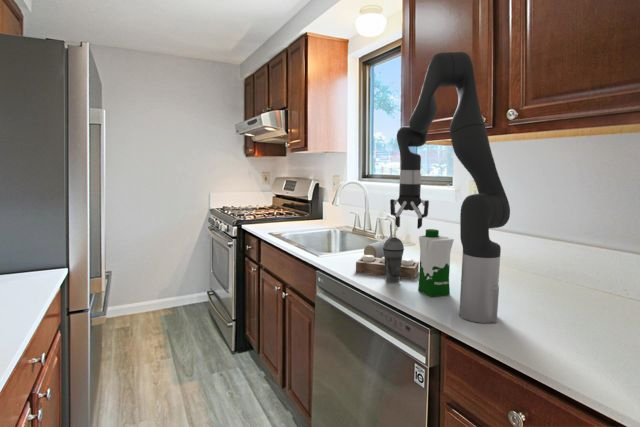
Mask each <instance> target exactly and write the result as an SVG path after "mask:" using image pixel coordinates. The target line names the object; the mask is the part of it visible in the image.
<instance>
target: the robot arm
mask: <svg viewBox="0 0 640 427" xmlns="http://www.w3.org/2000/svg"><path fill="white" fill-rule="evenodd" d="M476 84H477V82H476V77H475V72H474V65H473V61H472V58H471V57H470V55H469V54H468V53H466V52H463V51H454V52H453V51H451V52H449V51H448V52H438V53H435V55H434V56H432V58H431V60H430V62H429V63H428V66H427V70H426V73H425V76H424V80H423V83H422V86H421V91H420V95H419V98H418V101H417V104H416V106H415V108H414V110H413V112H412V113H411V116H410V118H409V121H408V126H401V127H400V128H398V130H397V132H396V143H397V145H398V150H399V154H400V155H399V156H400V172H399V174H400V175H399V191H398V192H399V194H398V198H391V199H389V204H390V216H394V218H395V226H396V227H397V228H400V227H401V216H400V215H401V214H402V213H403V211H411V212H412V211H414V212H415V214H416V216H417V217H418V218H417V226H416V227H417V229H419V230H420V228H422V226H423V218H427V217H428V215H429V207H430V206H429V205H430V201H429V199H426V200H425V199H422V198H421V189H422V188H421V186H422V185H421V183H422V174H421V172H422V171H421V167H422V164H421V162H422V156H421V154H419V153H414V152H413V151H412V152H411V150H410V149H409V147H413V148H416V147H417V148H421V147H422V146H424V145H425V144H426V143H427V141H428V140H427V139H428V132H429V128H430V126H431V124H432V123H433V121H434V119H435V118H436V115H437V112H438V111H437V110H438V105H437V101H436V98H435V93H436V91H437V90H438V89H439V87H440V88H443V87H445V88H446V87H455V88H456V92H457V100H458V103H457V107H456V110H455V112H454V114H453V117H452V119H451V121H450V125H449V137H450V141H451V146H452V149H453V152H454V154H455V156H456V158H457V159H458V161H459V162H460V163H461V165H462V166H463V167H464V168H465V169H466V171H467V172H468V173H469V175H470V176H471V178H472V179H473V181H474V183H475V186H476V189H477V193H473V194H469V195H467V196H466V197H465V198H464V200H463V201H462V204H461V207H460V217H459V223H460V224H459V226H460V227H459V228H460V229H459V230H460V233H459V234H460V242H461V246H462V259H461V260H462V262H461V279H460V296H459V298H460V299H459V316H460V317H461V318H463V319H464V320H467V321H470V322H474V323H479V324H480V323H482V324H488V323H489V324H490V323H495V324H497V323H498V308H499V297H500V296H499V294H500V293H499V292H500V285H499V281H500V280H499V279H500V269H501V268H500V266H501V264H500V263H501V250H502V248H501V244H499V243H498V242H494V241H492V240H491V238H490V229H498V228H502V227H504V226H506V224H507V223H508V222H509V220H510V215H511V207H510V203H509V200H508V197H507V194H506V191H505V189H504V186H503V183H502V182H501V181H502V180H501V178H500V175H499V173H498V170H497V167H496V163H495V160H494V156H493V153H492V149H491V145H490V140H489V136H488V133H487V127H486V124H485V122H484V117H483V114H482V110H481V107H480V106H481V105H480V102H479V101H480V100H479V96H478V92H477V85H476ZM397 203H398V205H400V206H399V209H398V210H397V211H396V205H397ZM421 204H422V207H424V208H423V213H422V212H421V209H420V207H419V206H420V205H421Z"/></svg>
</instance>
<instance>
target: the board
mask: <svg viewBox="0 0 640 427" xmlns="http://www.w3.org/2000/svg"><path fill="white" fill-rule="evenodd" d="M419 271H420V261H416V260H415V261H414V262H413V266H405V265H401V271H400V278H403V279H410V280H411V279H413V280H415V279H416V277H417V276H418V274H419ZM355 273H360V274H367V275H375V274H376V275H377V276H384V277H386V275H385V263H382V258H374V262H366V261H363V256H362V257H360V258H359V259H358V260H357V261H356V262H355Z"/></svg>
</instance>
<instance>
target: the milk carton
mask: <svg viewBox="0 0 640 427" xmlns="http://www.w3.org/2000/svg"><path fill="white" fill-rule="evenodd" d="M418 240H419V241H418V242H419V270H418V274H419V275H418V286H417V287H418V288H417V290H418V291H419V292H421V293H422V294H425V295H426V296H428V297H430V298H437V297H445V296H449V295H451V294H450V293H451V292H450V291H451V289H450V270H451V269H450V268H451V267H450V264H451V253H452V248H453V244H454V239H453V238H450V237H447V236H445V235H440V233H439V229H435V228H434V229H433V228H432V229H431V228H429V229H425V235H418Z"/></svg>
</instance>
